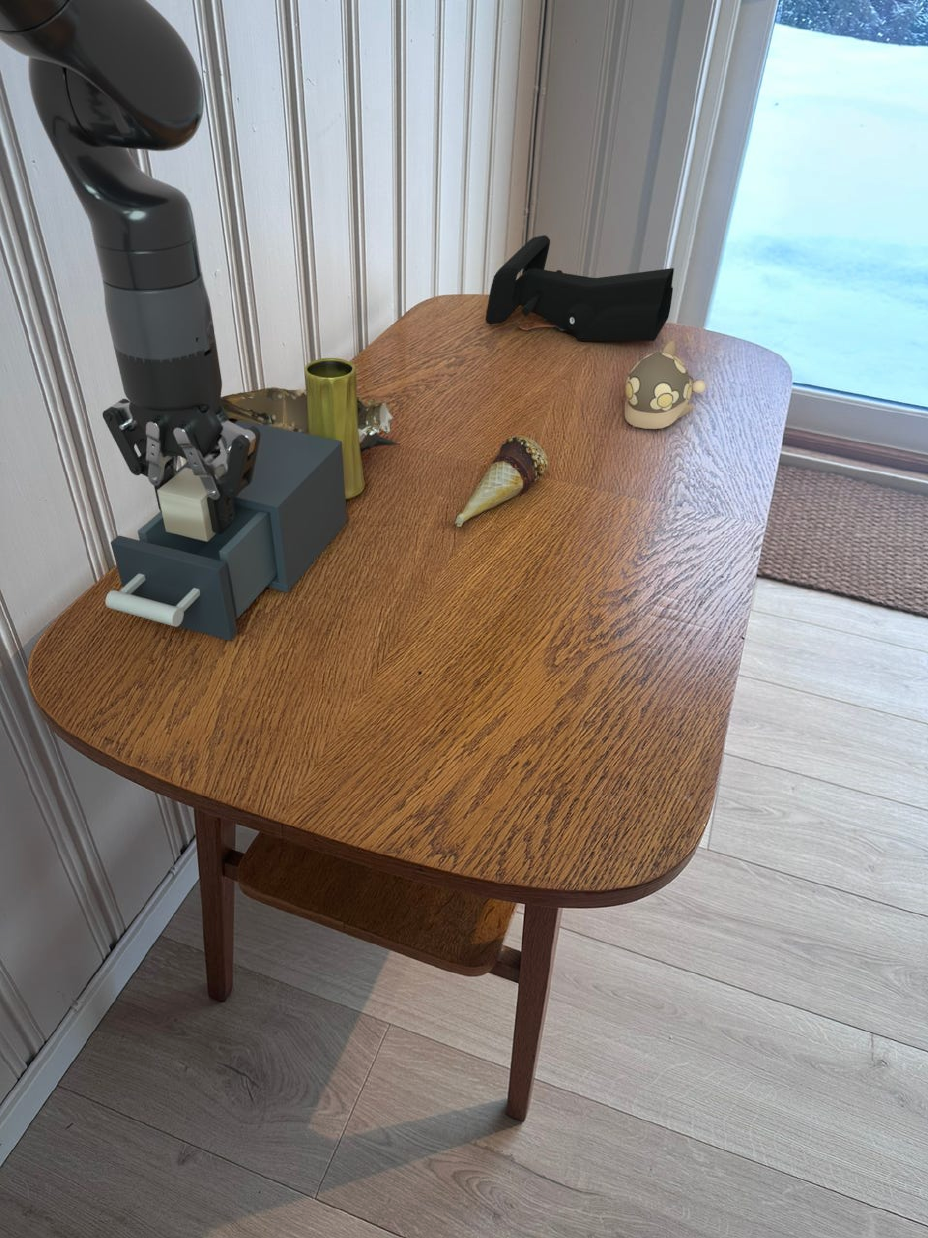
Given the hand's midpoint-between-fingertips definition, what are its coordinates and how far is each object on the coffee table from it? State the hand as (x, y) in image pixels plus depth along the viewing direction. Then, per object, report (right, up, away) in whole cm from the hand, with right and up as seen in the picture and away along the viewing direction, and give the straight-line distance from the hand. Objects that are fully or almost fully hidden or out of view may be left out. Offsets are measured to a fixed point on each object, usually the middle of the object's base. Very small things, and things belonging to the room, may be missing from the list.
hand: (199, 522), depth 78 cm
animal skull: (+4, +15, +16) cm, 22 cm away
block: (0, 0, 0) cm, 0 cm away
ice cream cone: (+23, +2, +16) cm, 28 cm away
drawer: (-1, -7, +4) cm, 8 cm away
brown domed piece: (+53, +25, +45) cm, 74 cm away
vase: (+9, +6, +22) cm, 25 cm away
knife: (+39, +37, +60) cm, 81 cm away
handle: (+44, +36, +61) cm, 83 cm away
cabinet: (+3, -1, +13) cm, 14 cm away
